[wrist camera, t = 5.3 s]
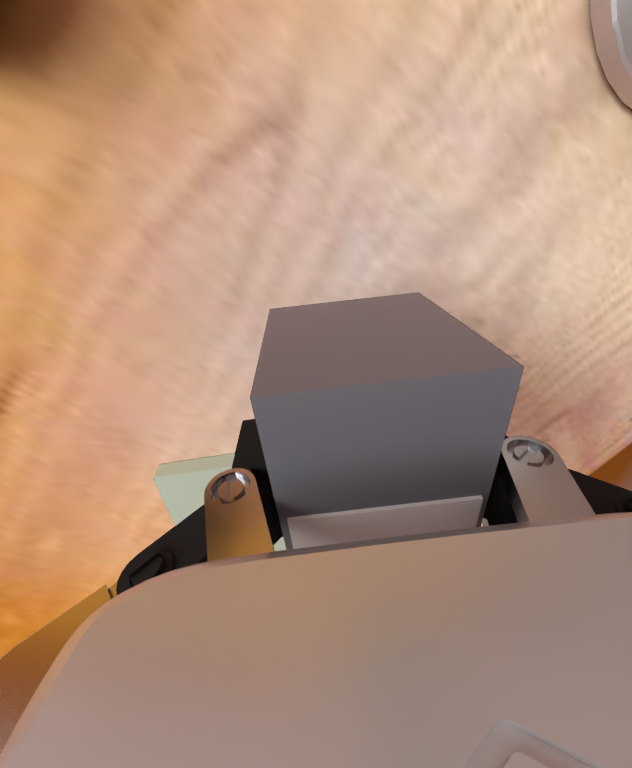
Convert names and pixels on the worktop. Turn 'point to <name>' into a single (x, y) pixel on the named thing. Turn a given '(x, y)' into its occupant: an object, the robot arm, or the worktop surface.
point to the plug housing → (379, 418)
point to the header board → (191, 485)
